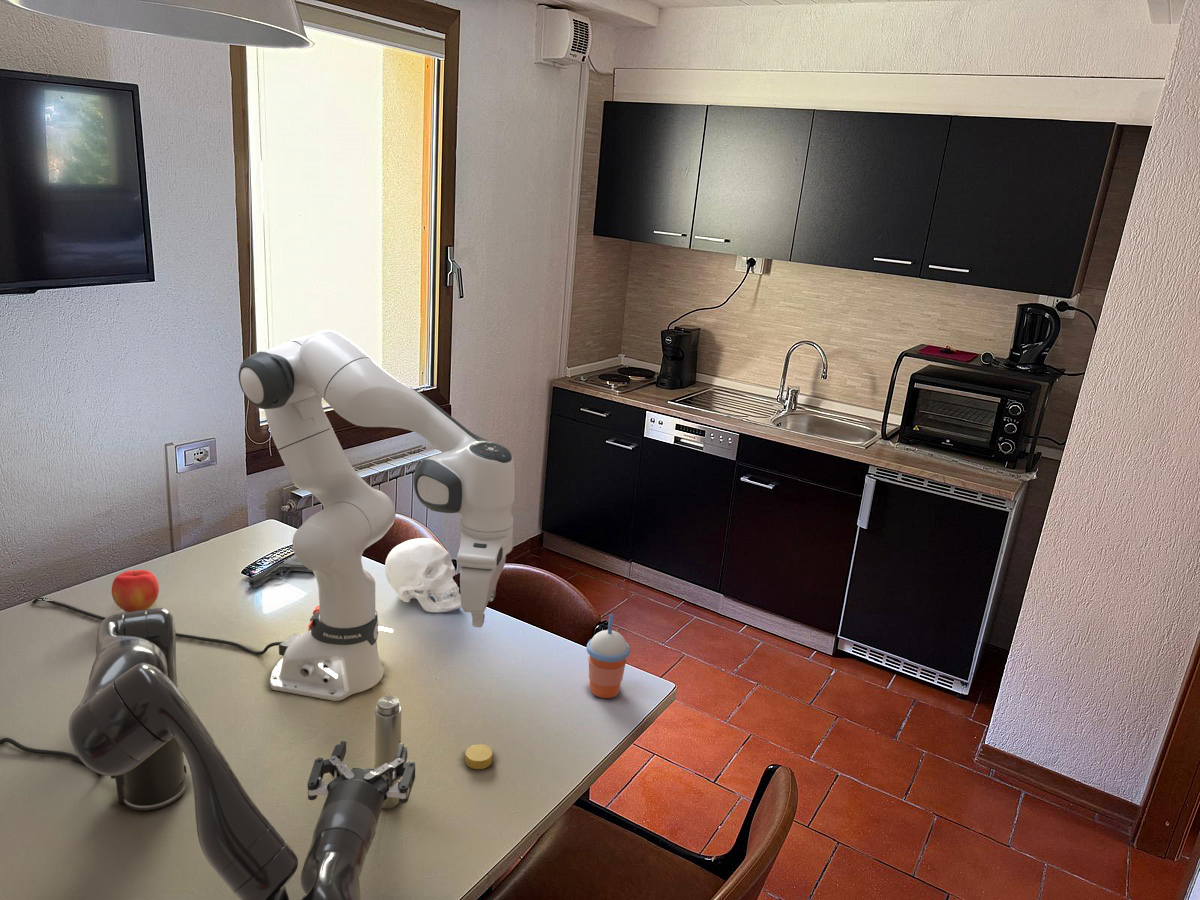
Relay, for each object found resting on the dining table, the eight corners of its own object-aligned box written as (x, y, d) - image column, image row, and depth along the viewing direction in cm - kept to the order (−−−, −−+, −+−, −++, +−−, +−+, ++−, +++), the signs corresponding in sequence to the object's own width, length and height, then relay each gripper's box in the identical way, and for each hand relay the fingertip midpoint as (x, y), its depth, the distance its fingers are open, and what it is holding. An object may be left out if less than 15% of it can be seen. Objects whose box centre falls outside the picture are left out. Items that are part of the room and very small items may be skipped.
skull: (448, 622, 203) (451, 561, 199) (372, 599, 211) (374, 540, 207) (477, 602, 215) (480, 543, 211) (405, 581, 223) (406, 524, 219)
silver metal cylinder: (372, 808, 143) (372, 708, 137) (377, 791, 147) (377, 693, 141) (398, 809, 143) (399, 709, 137) (402, 792, 147) (403, 694, 142)
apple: (163, 615, 196) (160, 576, 193) (116, 624, 191) (112, 584, 188) (157, 598, 204) (154, 559, 201) (111, 606, 199) (107, 567, 196)
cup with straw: (621, 706, 176) (629, 628, 171) (578, 698, 178) (585, 621, 173) (629, 682, 185) (636, 608, 180) (588, 675, 186) (594, 601, 181)
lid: (496, 755, 159) (496, 747, 158) (486, 772, 154) (487, 763, 153) (470, 749, 160) (471, 741, 159) (460, 766, 155) (461, 758, 154)
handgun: (292, 594, 211) (247, 586, 213) (325, 565, 228) (283, 558, 229) (291, 586, 211) (246, 578, 212) (325, 557, 227) (283, 550, 229)
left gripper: (401, 802, 112) (421, 727, 127) (291, 799, 111) (323, 723, 126) (401, 849, 114) (420, 769, 129) (292, 846, 113) (324, 766, 128)
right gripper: (481, 513, 154) (478, 583, 158) (454, 560, 134) (452, 638, 138) (515, 517, 153) (512, 587, 157) (493, 564, 134) (490, 643, 138)
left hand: (372, 747), depth 128 cm, fingers open, 8 cm apart
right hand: (483, 611), depth 148 cm, fingers open, 8 cm apart
